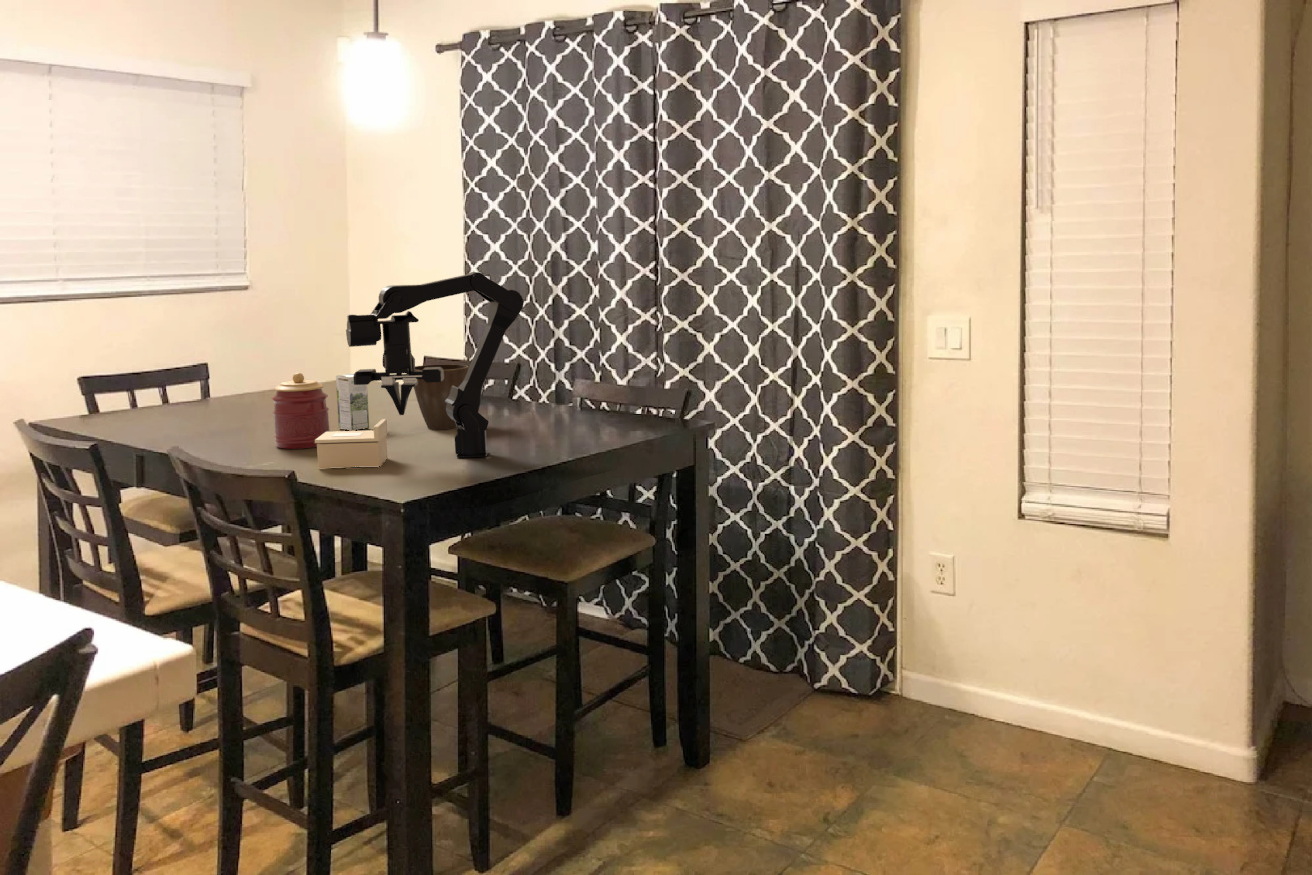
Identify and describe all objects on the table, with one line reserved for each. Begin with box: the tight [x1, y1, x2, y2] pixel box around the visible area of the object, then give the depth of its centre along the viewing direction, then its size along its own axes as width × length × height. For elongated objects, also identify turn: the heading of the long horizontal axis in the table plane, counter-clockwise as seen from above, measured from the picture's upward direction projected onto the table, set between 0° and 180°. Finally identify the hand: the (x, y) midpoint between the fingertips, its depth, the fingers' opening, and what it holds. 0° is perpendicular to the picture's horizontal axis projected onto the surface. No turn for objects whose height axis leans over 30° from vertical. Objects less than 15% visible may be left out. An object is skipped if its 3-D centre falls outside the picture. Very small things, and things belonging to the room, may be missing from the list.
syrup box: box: [335, 372, 370, 431], centre depth 287 cm, size 6×6×14 cm
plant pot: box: [413, 363, 469, 430], centre depth 288 cm, size 15×15×16 cm
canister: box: [271, 372, 331, 450], centre depth 266 cm, size 13×13×18 cm
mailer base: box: [316, 434, 388, 469], centre depth 242 cm, size 13×10×6 cm
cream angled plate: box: [315, 418, 389, 443], centre depth 241 cm, size 14×11×3 cm
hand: (401, 414), depth 241 cm, fingers closed
